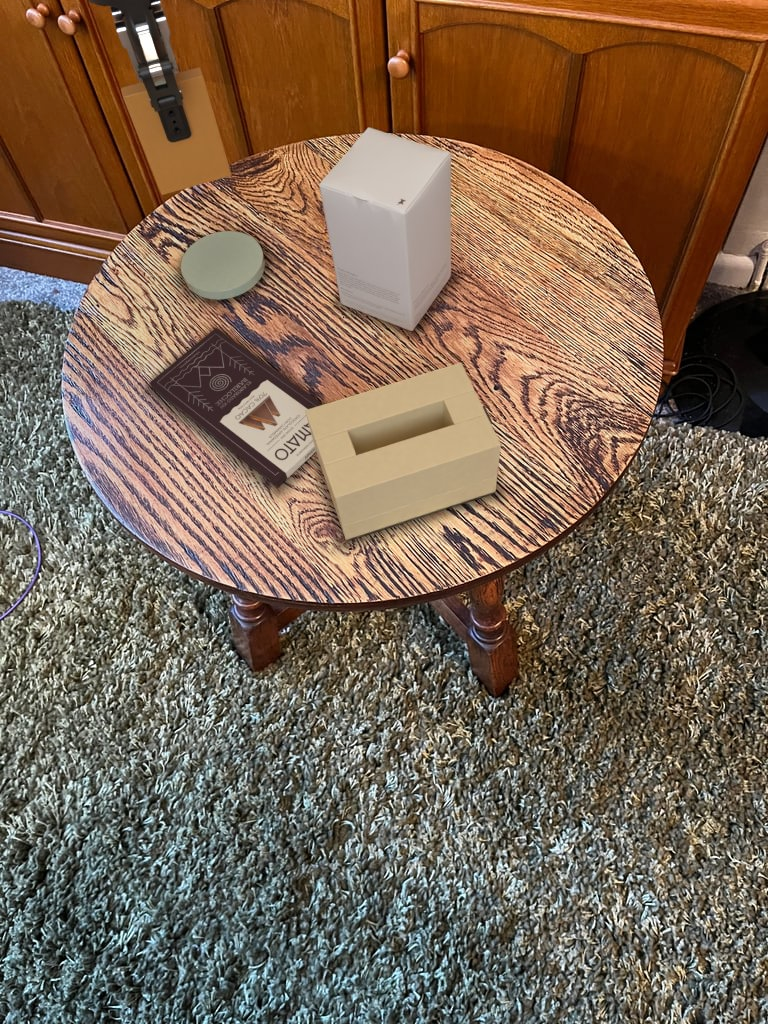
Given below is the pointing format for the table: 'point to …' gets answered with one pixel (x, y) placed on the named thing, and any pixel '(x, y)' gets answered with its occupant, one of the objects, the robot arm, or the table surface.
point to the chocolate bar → (242, 405)
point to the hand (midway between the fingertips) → (178, 131)
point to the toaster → (405, 450)
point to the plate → (223, 265)
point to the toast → (187, 157)
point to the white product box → (390, 226)
